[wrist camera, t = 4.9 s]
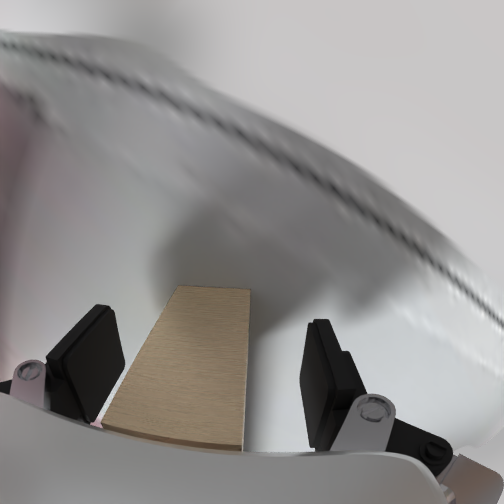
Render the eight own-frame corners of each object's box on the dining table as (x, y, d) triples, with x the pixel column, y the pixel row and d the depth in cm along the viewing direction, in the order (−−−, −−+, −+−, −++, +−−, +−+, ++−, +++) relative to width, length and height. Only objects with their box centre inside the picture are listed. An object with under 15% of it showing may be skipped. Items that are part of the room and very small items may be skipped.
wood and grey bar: (178, 285, 13) (100, 422, 5) (250, 289, 13) (241, 445, 5) (209, 505, 20) (201, 569, 12) (242, 508, 20) (238, 572, 12)
